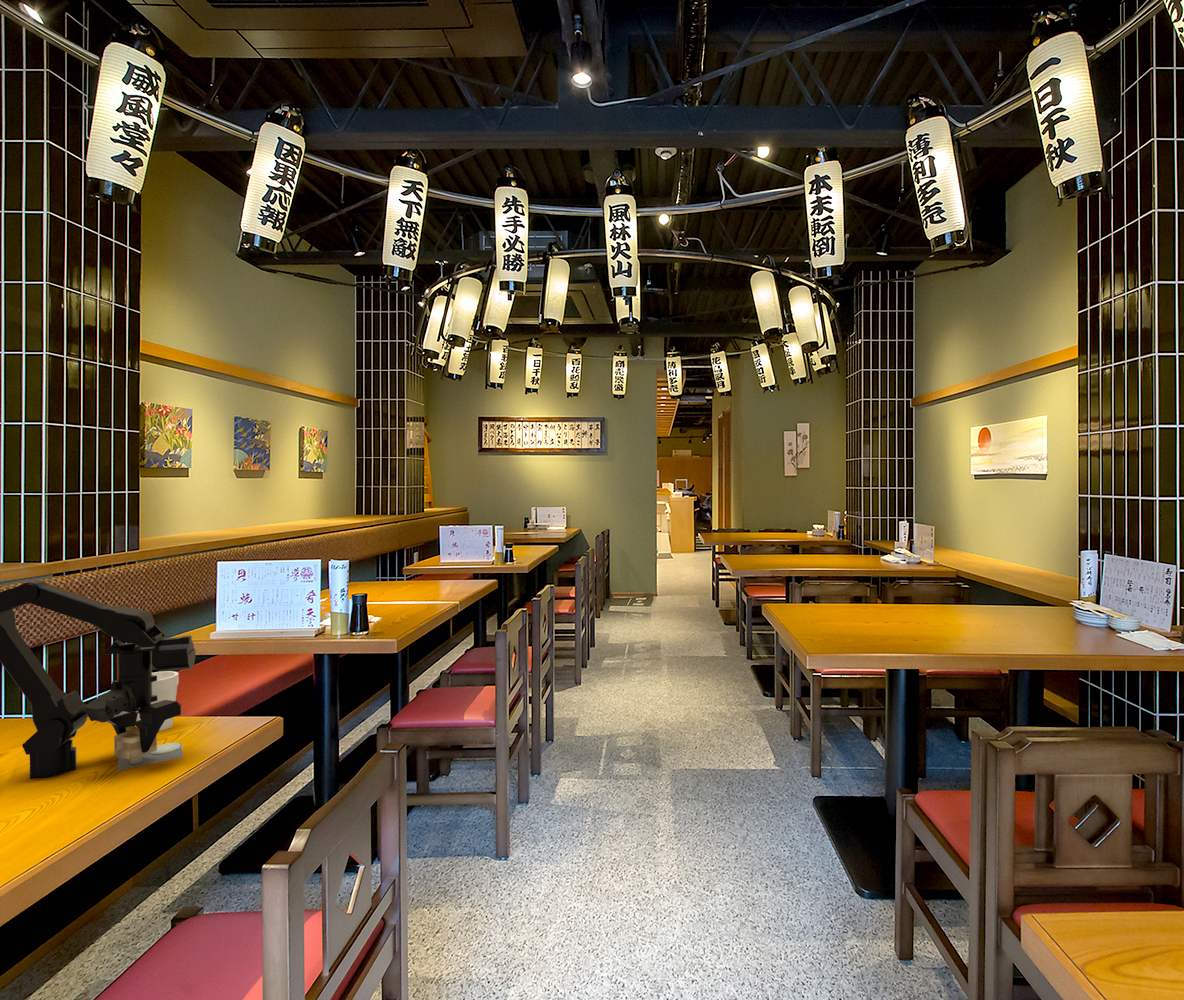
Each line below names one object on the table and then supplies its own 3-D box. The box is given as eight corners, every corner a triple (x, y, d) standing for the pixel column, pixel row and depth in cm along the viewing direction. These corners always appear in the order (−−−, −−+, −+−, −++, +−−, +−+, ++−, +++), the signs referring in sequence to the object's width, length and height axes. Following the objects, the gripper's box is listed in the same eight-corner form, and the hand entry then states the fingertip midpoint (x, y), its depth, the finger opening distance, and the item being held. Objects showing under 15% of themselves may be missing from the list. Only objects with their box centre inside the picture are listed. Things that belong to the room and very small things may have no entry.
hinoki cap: (114, 756, 129) (114, 730, 129) (139, 747, 134) (138, 722, 134) (132, 759, 128) (132, 733, 128) (156, 750, 132) (156, 725, 132)
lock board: (117, 775, 127) (117, 757, 127) (118, 759, 135) (118, 742, 135) (183, 761, 133) (183, 744, 133) (181, 747, 141) (180, 731, 141)
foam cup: (120, 737, 148) (119, 680, 148) (158, 723, 157) (157, 670, 157) (152, 741, 145) (151, 683, 145) (188, 727, 154) (187, 672, 154)
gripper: (59, 680, 126) (60, 760, 126) (127, 688, 120) (128, 772, 120) (117, 666, 137) (118, 740, 137) (182, 673, 131) (183, 749, 131)
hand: (135, 750), depth 131 cm, fingers closed on hinoki cap, 5 cm apart
